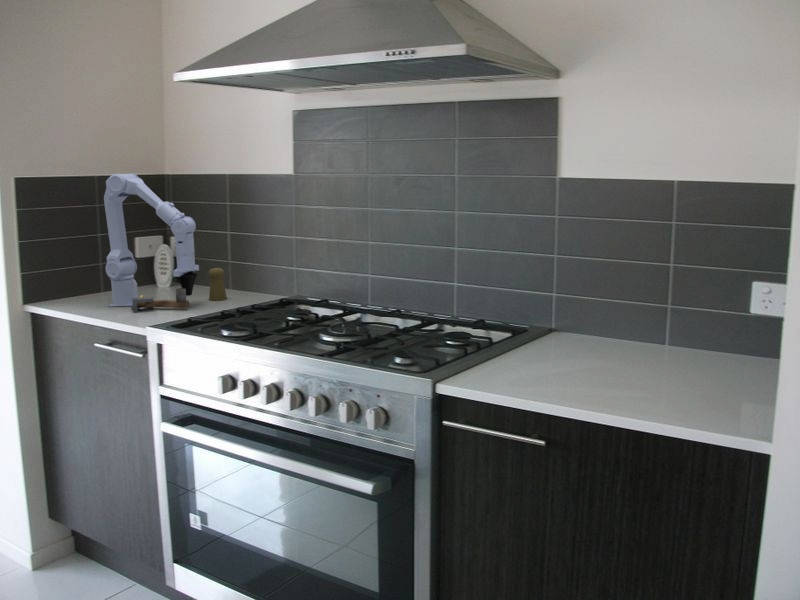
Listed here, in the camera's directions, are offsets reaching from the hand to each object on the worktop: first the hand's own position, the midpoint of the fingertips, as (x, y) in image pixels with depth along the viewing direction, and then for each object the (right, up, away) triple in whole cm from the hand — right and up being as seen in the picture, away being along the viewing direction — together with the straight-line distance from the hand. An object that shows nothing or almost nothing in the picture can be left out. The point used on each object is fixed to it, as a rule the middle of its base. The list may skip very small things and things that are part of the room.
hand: (188, 295), depth 264 cm
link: (-8, -4, -3) cm, 9 cm away
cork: (+7, -2, +14) cm, 16 cm away
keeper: (-13, -5, -6) cm, 15 cm away
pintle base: (-15, -4, -1) cm, 15 cm away
